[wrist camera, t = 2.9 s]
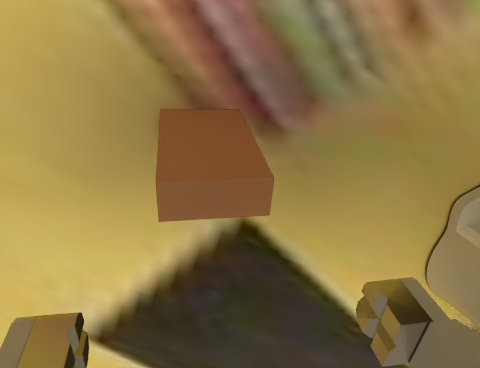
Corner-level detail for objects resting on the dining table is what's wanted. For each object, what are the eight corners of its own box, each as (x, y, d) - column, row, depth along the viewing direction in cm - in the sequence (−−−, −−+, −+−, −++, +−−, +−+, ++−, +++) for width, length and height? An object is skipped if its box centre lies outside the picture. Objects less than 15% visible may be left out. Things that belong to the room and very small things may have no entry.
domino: (160, 109, 22) (155, 182, 14) (239, 109, 23) (274, 177, 15) (162, 139, 23) (158, 221, 15) (237, 137, 24) (269, 215, 16)
